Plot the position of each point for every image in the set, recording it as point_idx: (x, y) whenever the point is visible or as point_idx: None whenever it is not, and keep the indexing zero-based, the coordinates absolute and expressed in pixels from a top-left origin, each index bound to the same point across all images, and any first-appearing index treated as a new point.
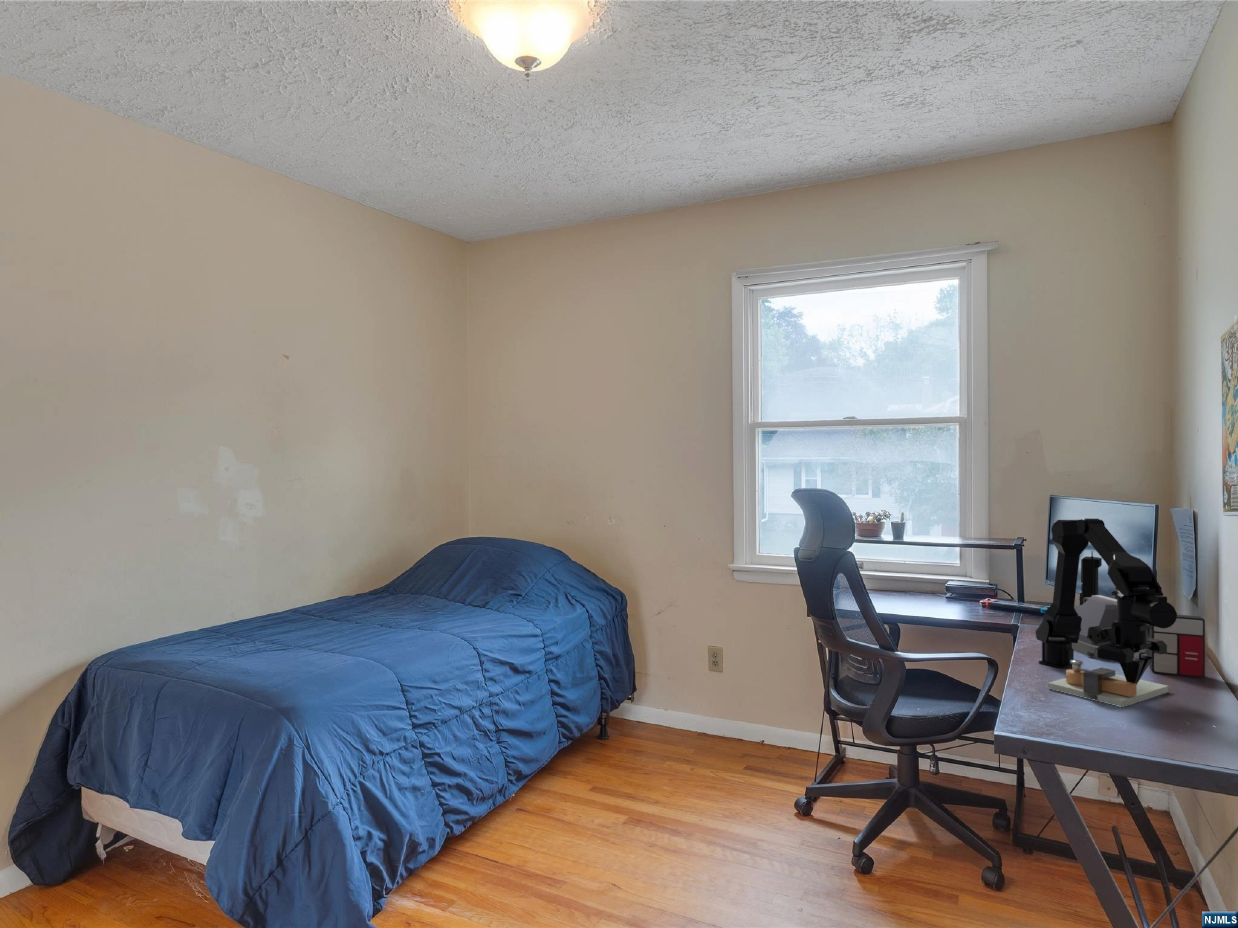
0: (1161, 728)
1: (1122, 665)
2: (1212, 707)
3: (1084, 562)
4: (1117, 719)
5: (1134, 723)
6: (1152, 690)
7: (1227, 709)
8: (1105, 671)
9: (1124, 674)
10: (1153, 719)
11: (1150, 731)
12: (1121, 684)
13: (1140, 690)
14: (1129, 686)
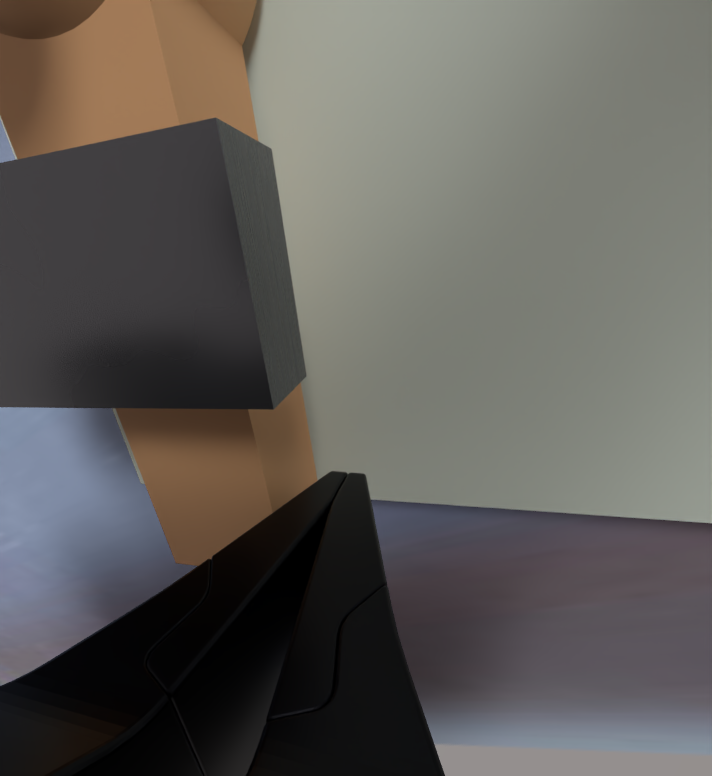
0: (113, 619)
1: (80, 675)
2: (646, 709)
3: None
4: (30, 509)
5: (61, 557)
6: (630, 510)
7: (670, 750)
8: (74, 355)
9: (233, 542)
10: (169, 584)
11: (56, 604)
12: (158, 502)
13: (530, 456)
14: (182, 551)
